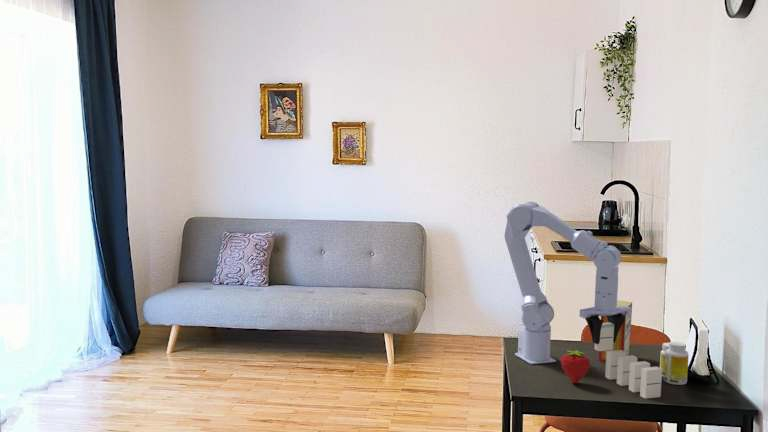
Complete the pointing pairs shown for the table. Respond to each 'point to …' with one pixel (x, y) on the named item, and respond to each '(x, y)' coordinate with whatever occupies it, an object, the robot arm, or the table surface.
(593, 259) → the robot arm
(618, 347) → the baking soda box
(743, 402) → the table surface
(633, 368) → the domino
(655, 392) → the domino
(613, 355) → the domino
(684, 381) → the supplement bottle
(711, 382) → the table surface
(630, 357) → the domino
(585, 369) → the strawberry
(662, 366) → the supplement bottle
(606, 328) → the domino head
